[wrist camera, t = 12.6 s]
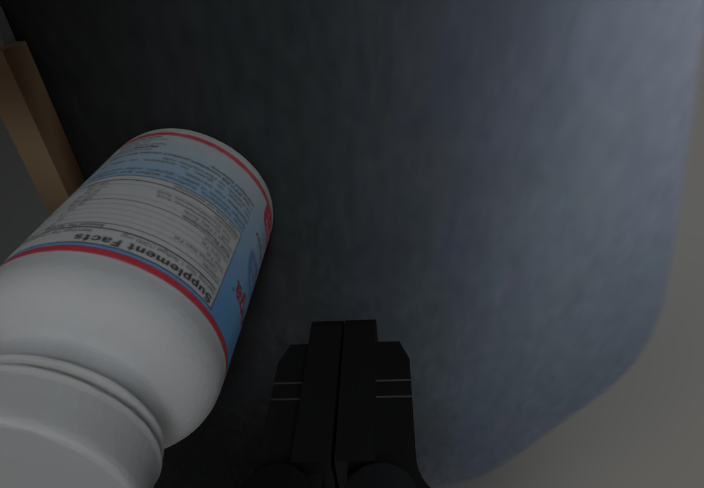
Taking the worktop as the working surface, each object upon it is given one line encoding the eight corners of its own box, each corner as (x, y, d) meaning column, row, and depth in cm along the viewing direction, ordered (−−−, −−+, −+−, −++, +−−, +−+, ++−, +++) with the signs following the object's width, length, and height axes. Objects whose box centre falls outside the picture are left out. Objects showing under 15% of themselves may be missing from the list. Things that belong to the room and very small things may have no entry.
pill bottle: (223, 288, 21) (103, 595, 12) (85, 207, 19) (-188, 499, 10) (309, 192, 18) (239, 495, 9) (158, 83, 16) (-129, 332, 7)
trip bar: (-5, 42, 16) (-31, 53, 15) (25, 40, 16) (1, 50, 15) (124, 324, 23) (112, 344, 22) (146, 323, 22) (135, 343, 22)
